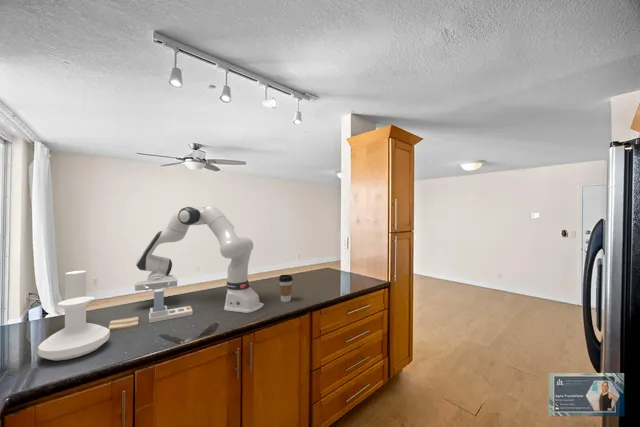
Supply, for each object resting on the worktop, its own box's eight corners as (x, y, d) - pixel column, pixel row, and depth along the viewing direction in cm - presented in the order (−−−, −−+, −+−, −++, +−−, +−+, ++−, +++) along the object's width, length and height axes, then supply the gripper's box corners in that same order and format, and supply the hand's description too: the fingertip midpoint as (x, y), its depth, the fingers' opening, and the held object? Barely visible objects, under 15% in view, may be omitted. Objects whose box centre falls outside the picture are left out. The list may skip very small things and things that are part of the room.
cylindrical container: (62, 329, 117) (62, 274, 118) (68, 324, 124) (69, 271, 124) (82, 326, 121) (83, 272, 121) (87, 321, 127) (88, 270, 127)
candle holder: (122, 338, 109) (122, 292, 110) (79, 366, 89) (79, 310, 90) (73, 339, 109) (74, 293, 109) (19, 366, 89) (20, 310, 89)
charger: (153, 313, 132) (154, 289, 133) (163, 311, 135) (163, 288, 135) (154, 316, 128) (154, 292, 128) (163, 314, 130) (163, 290, 131)
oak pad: (110, 323, 125) (110, 320, 125) (138, 318, 131) (138, 316, 131) (107, 331, 116) (107, 329, 116) (137, 325, 122) (137, 323, 122)
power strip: (149, 322, 125) (149, 313, 126) (149, 316, 133) (149, 308, 133) (192, 314, 136) (192, 306, 136) (190, 309, 144) (190, 301, 144)
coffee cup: (287, 297, 166) (287, 273, 166) (295, 300, 160) (295, 276, 160) (276, 300, 160) (276, 275, 160) (284, 303, 154) (284, 278, 154)
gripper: (135, 278, 147) (134, 284, 136) (176, 274, 159) (178, 279, 147) (134, 289, 147) (133, 296, 136) (175, 285, 159) (178, 290, 147)
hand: (157, 287), depth 142 cm, fingers open, 8 cm apart
